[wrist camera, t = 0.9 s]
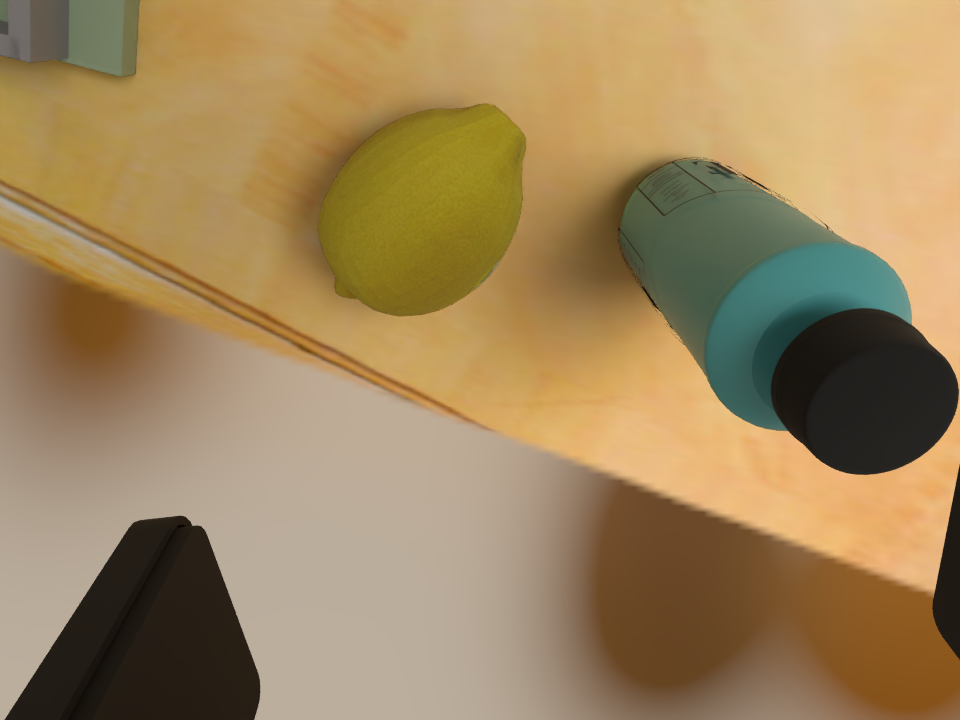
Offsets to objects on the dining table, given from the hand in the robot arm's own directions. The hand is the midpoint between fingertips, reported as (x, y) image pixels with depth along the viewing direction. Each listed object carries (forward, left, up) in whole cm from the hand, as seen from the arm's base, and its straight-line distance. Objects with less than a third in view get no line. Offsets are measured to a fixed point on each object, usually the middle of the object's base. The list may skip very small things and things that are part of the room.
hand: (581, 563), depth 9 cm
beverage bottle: (+1, +9, -28) cm, 30 cm away
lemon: (+3, -3, -29) cm, 29 cm away
